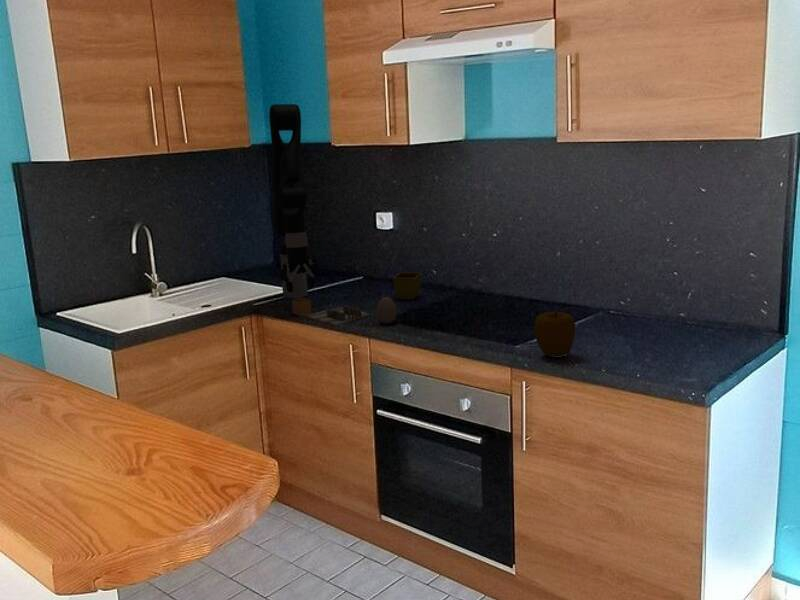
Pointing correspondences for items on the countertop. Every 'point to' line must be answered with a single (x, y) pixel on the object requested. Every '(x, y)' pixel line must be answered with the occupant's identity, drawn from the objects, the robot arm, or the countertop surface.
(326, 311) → the header board
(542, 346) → the apple
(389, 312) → the egg
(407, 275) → the flower pot
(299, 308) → the plug block
